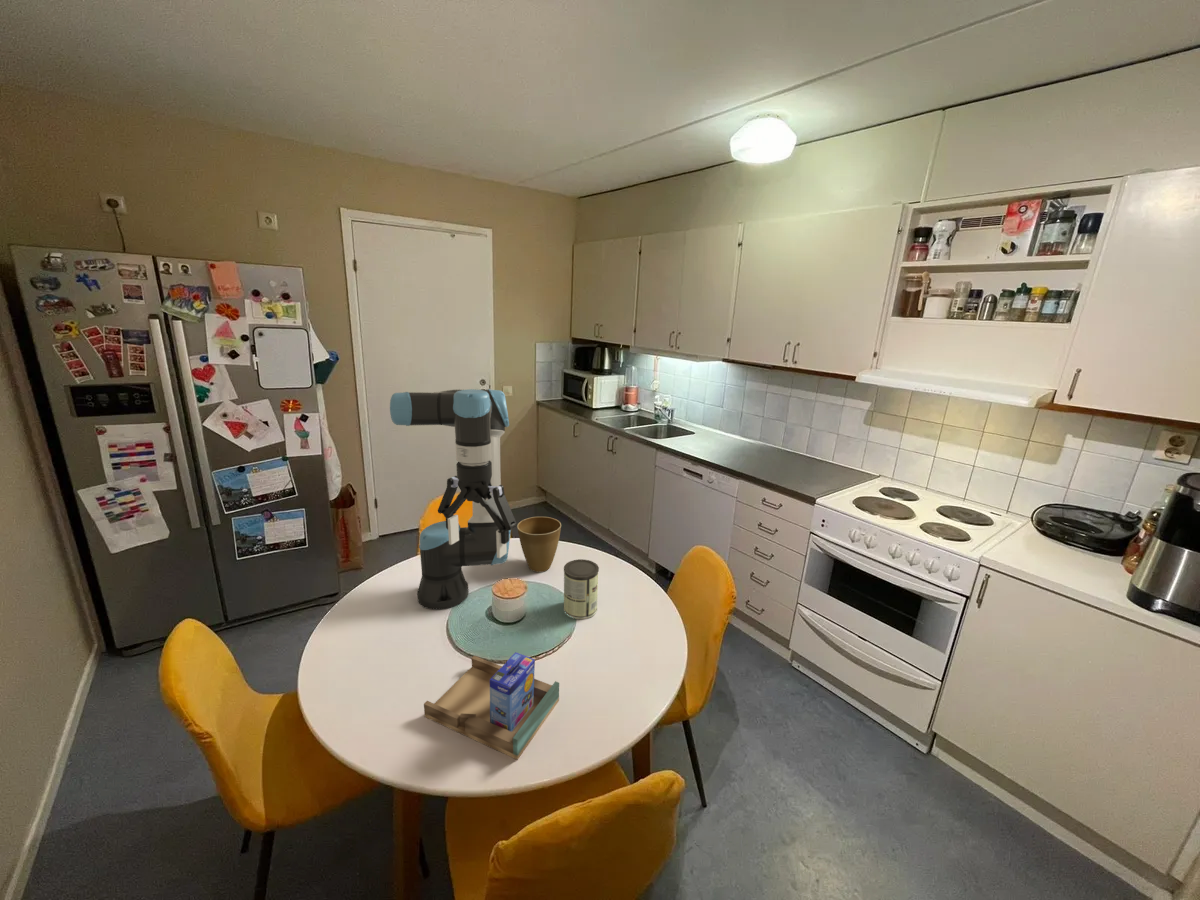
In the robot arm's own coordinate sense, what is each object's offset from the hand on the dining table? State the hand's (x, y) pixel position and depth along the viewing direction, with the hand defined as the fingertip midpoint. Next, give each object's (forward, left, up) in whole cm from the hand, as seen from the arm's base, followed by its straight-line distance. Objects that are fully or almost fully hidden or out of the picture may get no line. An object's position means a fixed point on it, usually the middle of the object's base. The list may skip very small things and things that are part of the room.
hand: (477, 548), depth 112 cm
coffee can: (+11, +33, -33) cm, 48 cm away
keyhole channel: (+11, -10, -33) cm, 36 cm away
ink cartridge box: (+16, -10, -32) cm, 37 cm away
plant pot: (-13, +49, -33) cm, 60 cm away
